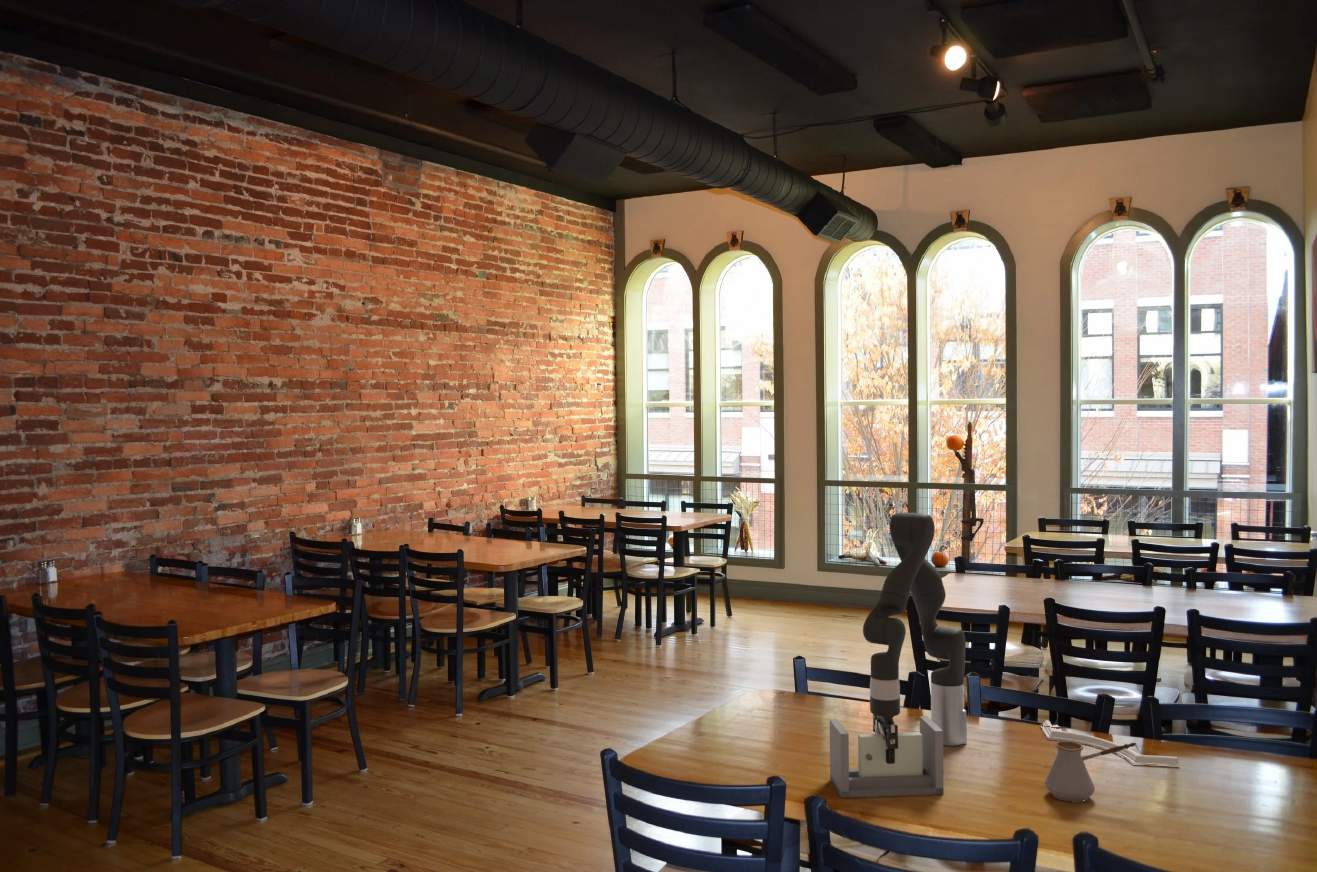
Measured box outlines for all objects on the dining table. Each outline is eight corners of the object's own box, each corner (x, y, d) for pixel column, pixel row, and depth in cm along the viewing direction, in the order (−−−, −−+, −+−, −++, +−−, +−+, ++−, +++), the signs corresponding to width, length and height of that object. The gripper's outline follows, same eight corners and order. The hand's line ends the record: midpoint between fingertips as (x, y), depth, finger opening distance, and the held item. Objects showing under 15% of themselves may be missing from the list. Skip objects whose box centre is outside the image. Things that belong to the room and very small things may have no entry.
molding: (1187, 767, 263) (1187, 756, 263) (1162, 776, 256) (1162, 765, 256) (1048, 726, 298) (1048, 717, 298) (1023, 733, 291) (1023, 723, 291)
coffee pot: (1045, 802, 239) (1045, 741, 238) (1043, 785, 249) (1043, 727, 249) (1142, 813, 231) (1141, 750, 231) (1136, 795, 242) (1135, 735, 242)
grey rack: (927, 776, 256) (927, 716, 256) (943, 794, 244) (943, 730, 244) (830, 779, 255) (829, 719, 255) (841, 797, 243) (840, 733, 243)
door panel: (919, 778, 251) (919, 731, 251) (923, 782, 248) (923, 736, 248) (858, 780, 250) (858, 733, 250) (862, 785, 247) (861, 738, 247)
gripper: (907, 702, 242) (908, 766, 243) (891, 686, 257) (891, 747, 257) (878, 703, 242) (878, 767, 242) (863, 687, 256) (863, 748, 256)
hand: (885, 757), depth 250 cm, fingers open, 8 cm apart
